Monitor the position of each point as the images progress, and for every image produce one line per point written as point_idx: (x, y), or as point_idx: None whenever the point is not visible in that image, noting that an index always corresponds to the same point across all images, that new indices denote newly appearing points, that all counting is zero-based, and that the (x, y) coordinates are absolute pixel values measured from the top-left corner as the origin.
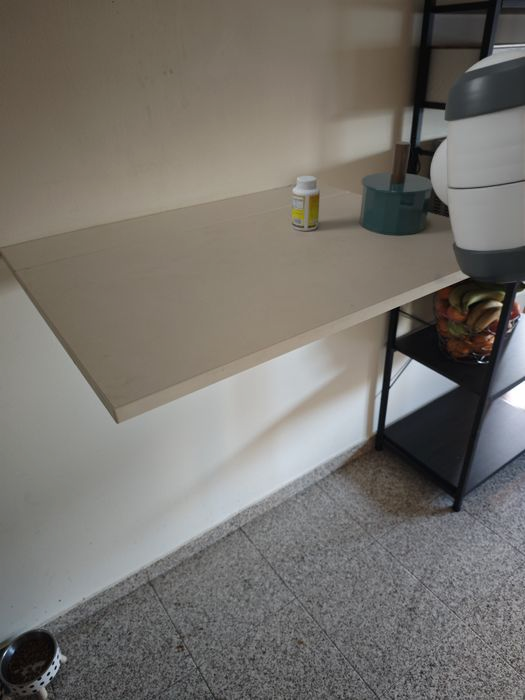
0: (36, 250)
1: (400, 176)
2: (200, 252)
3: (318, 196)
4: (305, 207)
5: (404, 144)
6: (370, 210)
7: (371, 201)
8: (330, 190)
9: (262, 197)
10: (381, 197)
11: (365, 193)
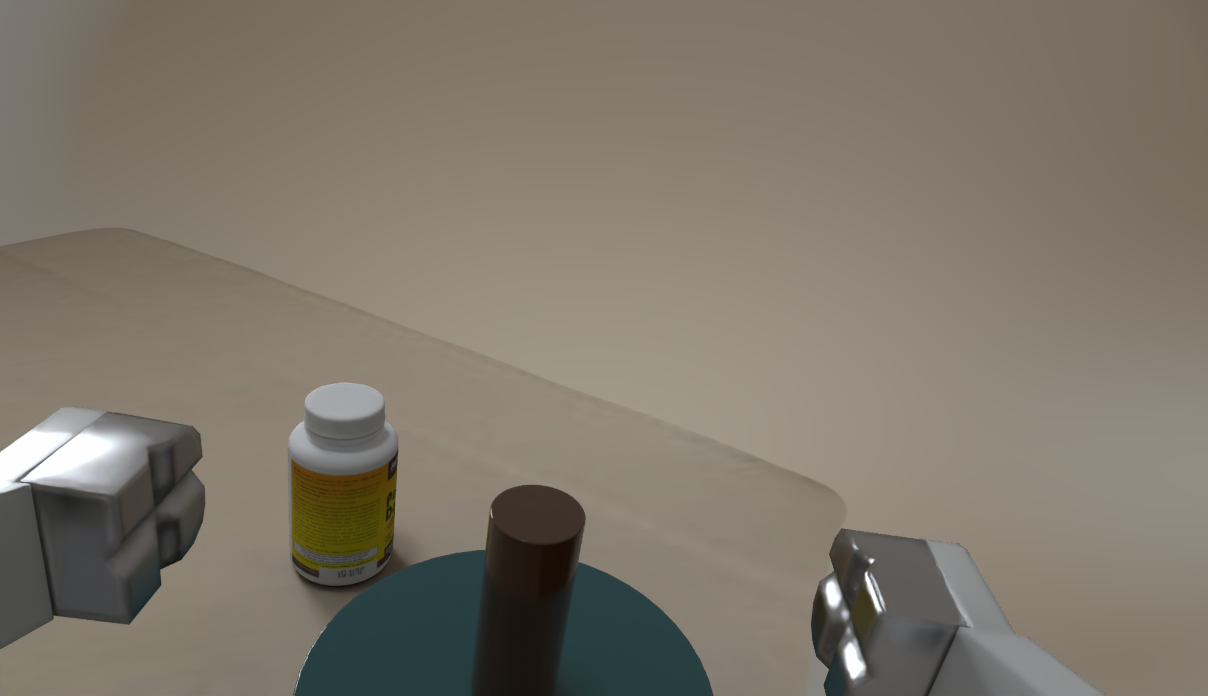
0: (103, 246)
1: (476, 669)
2: (75, 404)
3: (328, 484)
4: (289, 487)
5: (494, 520)
6: None
7: None
8: (803, 554)
9: (600, 427)
10: None
11: None
